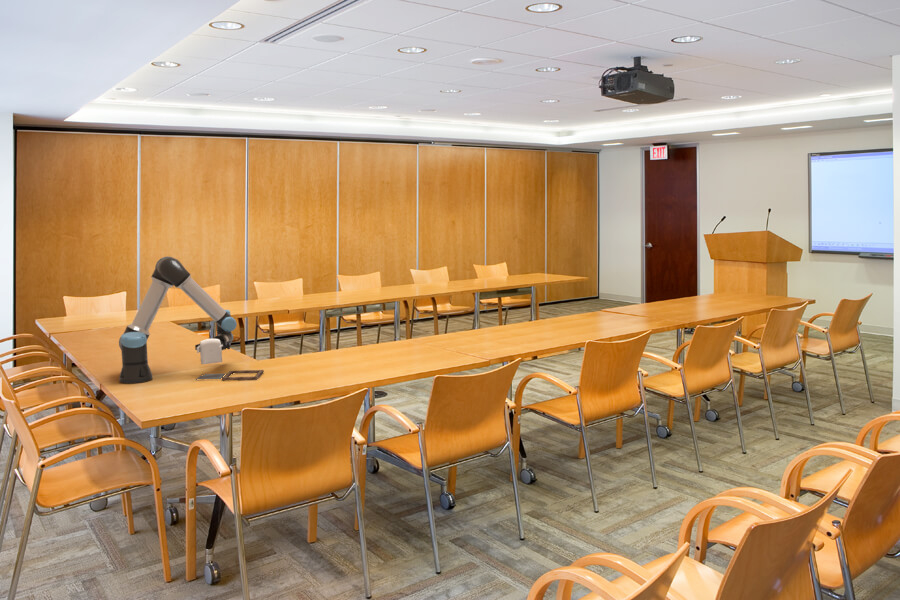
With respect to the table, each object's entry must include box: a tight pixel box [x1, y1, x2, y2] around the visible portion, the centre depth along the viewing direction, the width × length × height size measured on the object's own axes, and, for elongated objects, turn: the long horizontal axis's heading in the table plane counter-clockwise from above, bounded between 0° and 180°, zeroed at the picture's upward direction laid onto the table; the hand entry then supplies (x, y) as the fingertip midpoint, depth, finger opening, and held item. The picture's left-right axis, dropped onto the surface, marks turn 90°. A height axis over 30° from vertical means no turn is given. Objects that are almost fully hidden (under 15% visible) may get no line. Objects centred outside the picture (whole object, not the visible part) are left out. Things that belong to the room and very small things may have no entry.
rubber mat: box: [195, 373, 226, 381], centre depth 369 cm, size 12×12×1 cm
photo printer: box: [199, 338, 223, 365], centre depth 368 cm, size 10×4×12 cm, turn 115°
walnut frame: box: [221, 369, 265, 381], centre depth 370 cm, size 17×17×2 cm
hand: (208, 349), depth 363 cm, fingers closed on photo printer, 10 cm apart
